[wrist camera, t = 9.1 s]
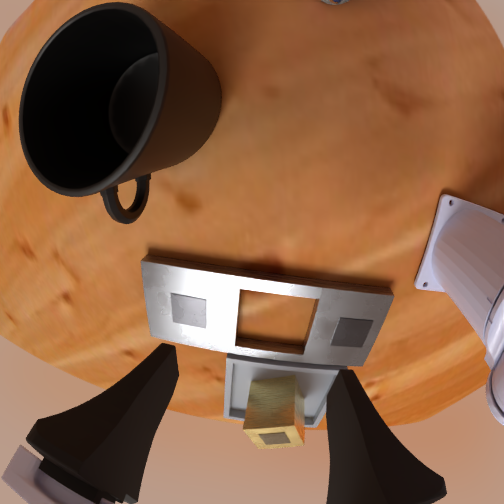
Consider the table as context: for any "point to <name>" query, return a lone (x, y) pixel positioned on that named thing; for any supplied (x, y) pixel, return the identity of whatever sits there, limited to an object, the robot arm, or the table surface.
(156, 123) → the mug
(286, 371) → the parts tray
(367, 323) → the metal plate with cutout
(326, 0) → the snack package
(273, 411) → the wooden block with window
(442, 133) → the table surface
